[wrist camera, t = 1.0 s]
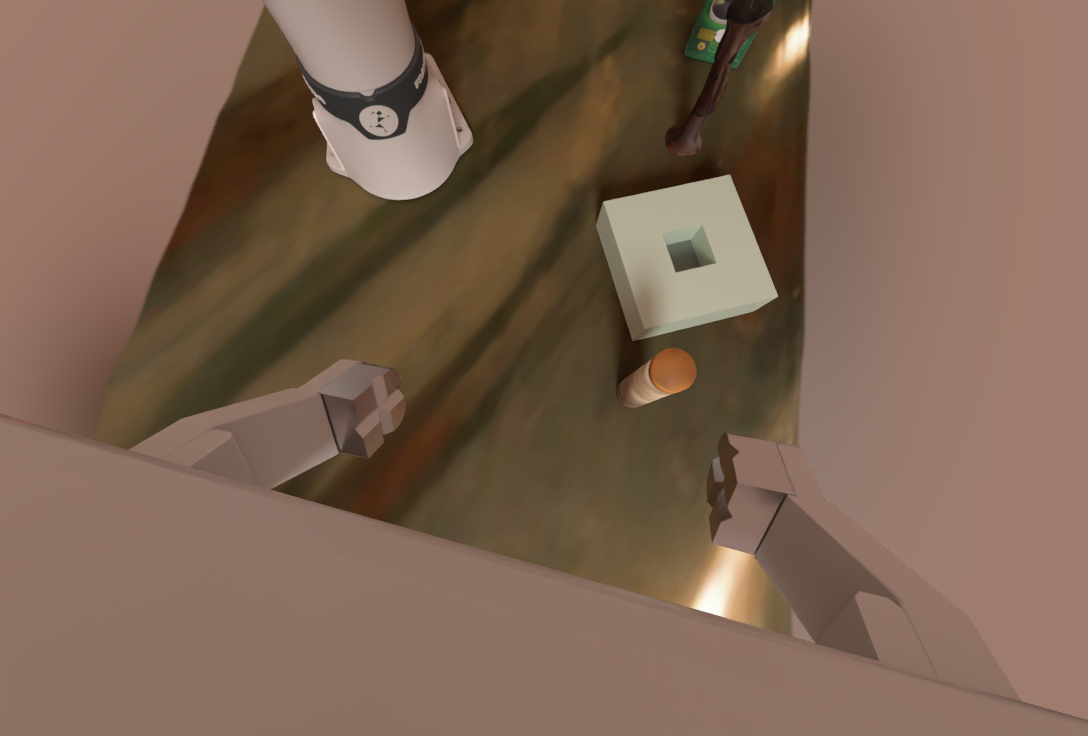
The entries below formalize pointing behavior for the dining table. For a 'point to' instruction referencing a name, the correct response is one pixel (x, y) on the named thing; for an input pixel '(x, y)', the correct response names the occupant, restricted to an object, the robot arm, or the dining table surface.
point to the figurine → (719, 71)
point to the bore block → (683, 257)
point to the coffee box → (712, 32)
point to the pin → (657, 378)
